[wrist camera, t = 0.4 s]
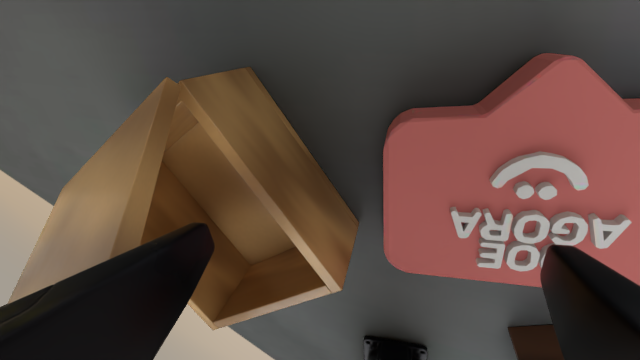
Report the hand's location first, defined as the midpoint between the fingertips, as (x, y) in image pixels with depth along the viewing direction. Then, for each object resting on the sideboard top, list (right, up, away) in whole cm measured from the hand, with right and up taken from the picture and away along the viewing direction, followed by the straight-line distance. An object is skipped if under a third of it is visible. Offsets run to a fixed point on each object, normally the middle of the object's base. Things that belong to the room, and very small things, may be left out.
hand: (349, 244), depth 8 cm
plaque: (+13, +2, +13) cm, 18 cm away
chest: (-7, +1, +19) cm, 20 cm away
